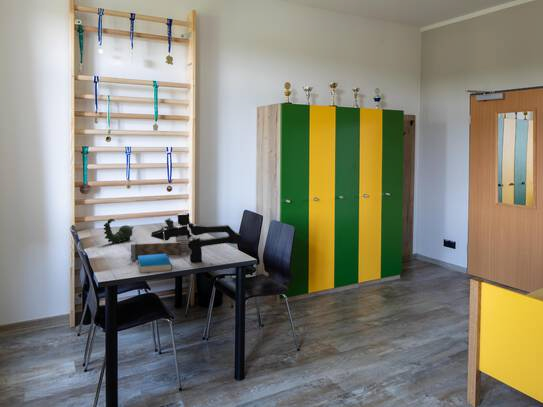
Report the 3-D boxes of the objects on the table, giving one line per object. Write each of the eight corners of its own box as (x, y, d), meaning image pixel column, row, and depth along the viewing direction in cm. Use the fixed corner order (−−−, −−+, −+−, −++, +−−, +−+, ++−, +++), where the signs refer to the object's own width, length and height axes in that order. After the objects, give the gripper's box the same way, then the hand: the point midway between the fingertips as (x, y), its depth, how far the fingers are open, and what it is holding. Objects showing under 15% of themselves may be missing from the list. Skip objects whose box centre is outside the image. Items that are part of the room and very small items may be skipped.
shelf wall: (181, 254, 289) (180, 241, 288) (181, 255, 287) (180, 242, 286) (131, 256, 284) (131, 243, 283) (131, 257, 282) (131, 244, 281)
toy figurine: (112, 247, 316) (139, 238, 337) (109, 221, 312) (136, 213, 333) (102, 246, 321) (130, 237, 342) (99, 220, 317) (127, 212, 338)
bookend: (137, 257, 282) (136, 241, 281) (135, 261, 272) (135, 244, 271) (133, 257, 282) (133, 241, 281) (132, 261, 272) (131, 244, 271)
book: (140, 266, 248) (137, 255, 271) (140, 273, 248) (137, 262, 272) (172, 263, 254) (166, 252, 277) (172, 270, 254) (166, 259, 277)
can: (196, 250, 301) (196, 232, 299) (186, 254, 291) (186, 235, 289) (182, 248, 306) (181, 231, 304) (171, 252, 295) (171, 234, 294)
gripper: (177, 216, 276) (150, 218, 273) (177, 219, 258) (149, 222, 255) (179, 234, 277) (152, 237, 274) (179, 239, 259) (151, 242, 256)
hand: (151, 234), depth 264 cm, fingers open, 9 cm apart
